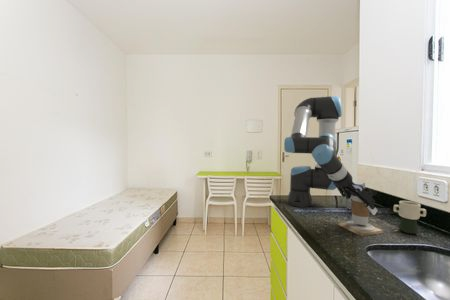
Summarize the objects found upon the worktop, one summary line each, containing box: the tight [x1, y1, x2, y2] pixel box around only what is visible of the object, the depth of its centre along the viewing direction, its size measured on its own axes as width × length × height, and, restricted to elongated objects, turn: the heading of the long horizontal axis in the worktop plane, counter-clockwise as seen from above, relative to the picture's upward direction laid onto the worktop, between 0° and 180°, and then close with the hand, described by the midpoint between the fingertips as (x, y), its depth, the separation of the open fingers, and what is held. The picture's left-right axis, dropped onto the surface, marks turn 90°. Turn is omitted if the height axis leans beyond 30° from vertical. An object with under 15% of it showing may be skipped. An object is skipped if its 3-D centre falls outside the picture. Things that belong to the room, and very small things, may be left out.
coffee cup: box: [350, 187, 373, 225], centre depth 97 cm, size 8×8×15 cm
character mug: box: [393, 200, 427, 235], centre depth 95 cm, size 11×7×13 cm, turn 55°
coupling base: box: [338, 219, 384, 237], centre depth 98 cm, size 12×12×2 cm
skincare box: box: [345, 180, 366, 210], centre depth 126 cm, size 8×7×16 cm
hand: (366, 209), depth 98 cm, fingers closed on coffee cup, 8 cm apart
